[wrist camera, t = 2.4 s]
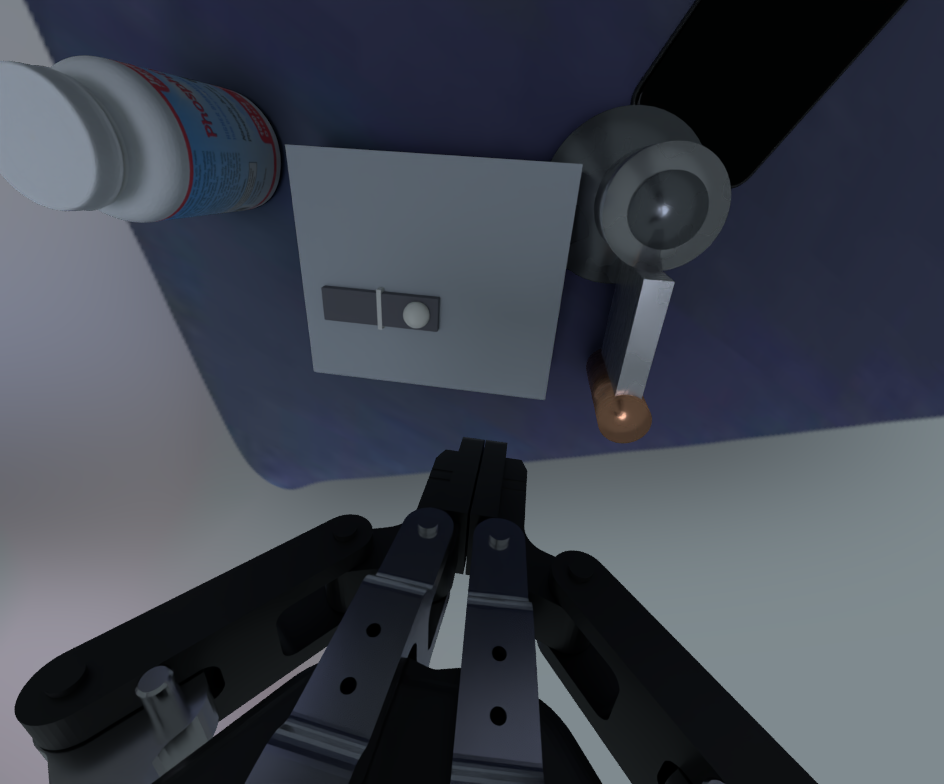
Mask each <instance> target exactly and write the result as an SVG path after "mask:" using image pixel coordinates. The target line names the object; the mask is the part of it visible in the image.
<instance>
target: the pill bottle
mask: <svg viewBox="0 0 944 784" xmlns="http://www.w3.org/2000/svg"><path fill="white" fill-rule="evenodd" d="M280 169H281V158H280V150H279V145H278V141H277V138H276V135H275V133H274V130H273V128H272V126H271V125H270V123H269V121H268V120H267V118H266V117H265V116H264V114H263V113H262V112H261V111H260V110H259V108H258V107H257V106H256V105H254V104H253V103H252V102H251V101H250V100H248V99H247V98H246V97H244V96H242V95H241V94H239V93H237V92H234V91H232V90H229V89H225V88H222V87H218V86H214V85H211V84H206V83H202V82H198V81H195V80H191V79H186V78H183V77H178V76H174V75H171V74H167V73H163V72H159V71H155V70H151V69H147V68H143V67H138V66H134V65H131V64H127V63H123V62H118V61H114V60H110V59H105V58H101V57H95V56H74V57H69V58H67V59H64V60H62V61H60V62H58V63H56V64H55V65H53V66H52V67H51V68H49V67H45V66H39V65H29V64H24V63H20V62H12V61H0V174H1V175H2V176H3V177H4V178H5V179H6V180H7V181H8V182H9V183H10V184H11V185H12V186H13V187H14V188H15V189H16V190H18V191H19V192H20V193H21V194H22V195H24V196H26V197H27V198H28V199H30V200H32V201H33V202H35V203H37V204H39V205H42V206H44V207H47V208H50V209H54V210H60V211H80V210H87V211H92V210H99V211H101V212H103V213H105V214H107V215H109V216H112V217H115V218H118V219H121V220H125V221H130V222H155V221H163V220H171V219H179V218H187V217H196V216H204V215H211V214H219V213H227V212H235V211H243V210H249V209H254V208H257V207H259V206H261V205H263V204H264V203H266V202H267V201H268V200H269V199H270V198H271V197H272V195H273V194H274V192H275V190H276V188H277V185H278V182H279V178H280Z"/></svg>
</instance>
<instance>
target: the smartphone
mask: <svg viewBox="0 0 944 784" xmlns="http://www.w3.org/2000/svg"><path fill="white" fill-rule="evenodd" d="M907 1H908V0H695V2H694V3H693V5H692V6H691V8H690V9H689V11H688V12H687V14H686V15H685V17H684V18H683V19H682V21H681V22H680V24H679V25H678V27H677V28H676V30H675V31H674V33H673V34H672V35H671V37H670V38H669V40H668V41H667V43H666V44H665V46H664V47H663V49H662V50H661V52H660V53H659V54H658V56H657V57H656V59H655V60H654V62H653V63H652V65H651V66H650V68H649V69H648V70H647V72H646V73H645V75H644V76H643V78H642V79H641V81H640V82H639V84H638V85H637V87H636V89H635V91H634V93H633V95H632V98H631V105H645V106H653V107H656V108H660V109H663V110H666V111H668V112H670V113H672V114H674V115H676V116H677V117H678V118H680V119H681V120H683V121H684V122H685V123H686V124H687V125H688V126H689V127H690V128H691V129H692V130H693V132H694V133H695V134H696V136H697V137H698V139H699V140H700V142H701V144H702V146H704V147H706V148H708V149H709V150H710V151H712V152H713V153H714V154H715V155H716V156H717V157H718V158H719V159H720V161H721V162H722V163H723V165H724V167H725V169H726V171H727V173H728V176H729V180H730V186H731V188H735V187H738V186H740V185H742V184H743V183H744V182H746V181H747V180H748V179H749V178H750V177H751V176H752V175H753V174H754V173H755V172H756V170H757V169H758V168H759V167H760V166H761V165H762V164H763V163H764V161H765V160H766V159H767V158H768V157H769V156H770V155H771V154H772V152H773V151H774V150H775V149H776V148H777V147H778V146H779V145H780V143H781V142H782V141H783V140H784V139H785V138H786V137H787V136H788V135H789V133H790V132H791V131H792V130H793V129H794V128H795V127H796V126H797V124H798V123H799V122H800V121H801V120H802V119H803V118H804V117H805V115H806V114H807V113H808V112H809V111H810V110H811V109H812V108H813V106H814V105H815V104H816V103H817V102H818V101H819V100H820V99H821V98H822V96H823V95H824V94H825V93H826V92H827V91H828V90H829V89H830V87H831V86H832V85H833V84H834V83H835V82H836V81H837V80H838V78H839V77H840V76H841V75H842V74H843V73H844V72H845V71H846V69H847V68H848V67H849V66H850V65H851V64H852V63H853V62H854V61H855V59H856V58H857V57H858V56H859V55H860V54H861V53H862V52H863V50H864V49H865V48H866V47H867V46H868V45H869V44H870V43H871V41H872V40H873V39H874V38H875V37H876V36H877V35H878V34H879V32H880V31H881V30H882V29H883V28H884V27H885V26H886V25H887V23H888V22H889V21H890V20H891V19H892V18H893V17H894V16H895V15H896V13H897V12H898V11H899V10H900V9H901V8H902V7H903V6H904V4H905V3H906V2H907Z"/></svg>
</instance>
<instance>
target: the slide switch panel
mask: <svg viewBox="0 0 944 784" xmlns="http://www.w3.org/2000/svg"><path fill="white" fill-rule="evenodd" d="M285 148H286V156H287V163H288V171H289V179H290V187H291V195H292V202H293V210H294V218H295V226H296V234H297V242H298V249H299V257H300V265H301V273H302V281H303V289H304V296H305V304H306V312H307V320H308V328H309V335H310V343H311V351H312V359H313V367H314V372H321V373H329V374H337V375H345V376H353V377H361V378H369V379H378V380H386V381H394V382H402V383H410V384H418V385H427V386H435V387H443V388H451V389H459V390H467V391H476V392H484V393H492V394H500V395H508V396H516V397H524V398H533V399H541V400H545V396H546V390H547V383H548V377H549V371H550V365H551V359H552V352H553V346H554V340H555V334H556V327H557V321H558V315H559V309H560V303H561V296H562V290H563V284H564V278H565V272H566V265H567V259H568V253H569V247H570V241H571V234H572V228H573V222H574V216H575V210H576V203H577V197H578V191H579V185H580V178H581V172H582V166H583V164H573V163H558V162H543V161H527V160H512V159H497V158H482V157H467V156H451V155H436V154H421V153H406V152H391V151H375V150H360V149H345V148H330V147H315V146H300V145H285Z"/></svg>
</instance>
